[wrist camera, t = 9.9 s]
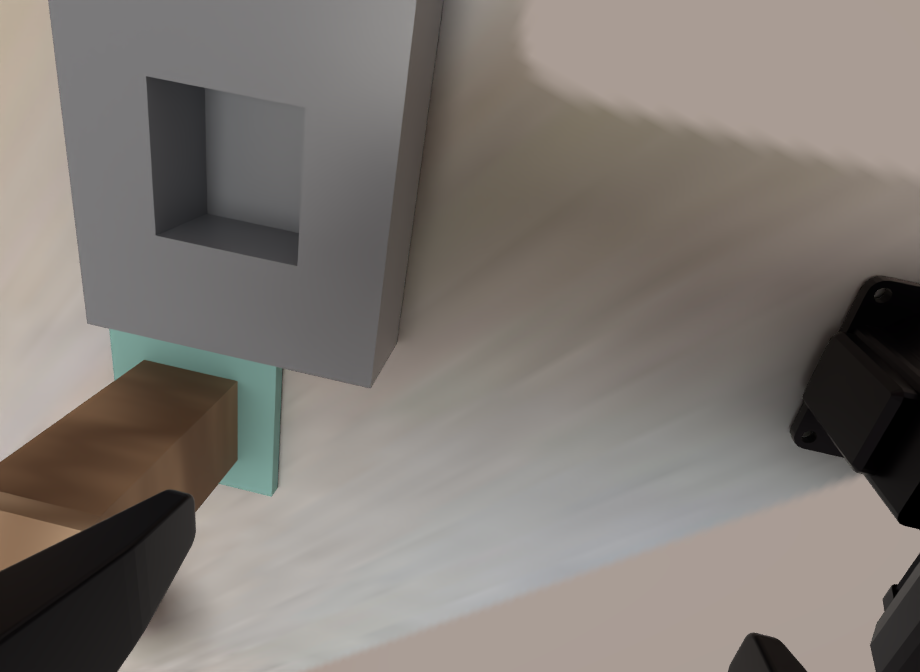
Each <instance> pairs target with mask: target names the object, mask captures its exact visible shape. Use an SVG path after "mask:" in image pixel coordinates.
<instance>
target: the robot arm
mask: <svg viewBox="0 0 920 672" xmlns="http://www.w3.org/2000/svg"><path fill="white" fill-rule="evenodd" d="M881 288H886V292H885V294H884V295H883V296H882V297H880V298H874V295H875V293H876V292H877V290H879V289H881ZM802 398H803V400H804V403H803V405H802V407H801V409H800V411H799V413H798V415H797V417H796V419H795V421H794V423H793V425H792V427H791V430H790V435H791V437H792V439H793V441H794V442H795V444H796V445H797V446H798V447H801V448H803V449H808V450H812V451H817V452H821V453H826V454H830V455H834V456H839V457H843V458H845V459H846V461H847V462H848V463H849V465H850V466H851V468H852V469H853V470H854V471H855V472H857V473H861V474H863V475H864V476H865V477H866V479H867V480H868V481H869V483H870V484H871V485H872V487H873V488H874V489H875V491H876V492H877V494H878V495H879V496H880V498H881V499H882V500H883V502H884V503H885V504H886V506H887V507H888V508H889V510H890V511H891V512H892V514H893V515H894V516H895V518H896V519H897V521H898V522H899V523H900V524H902V525H904V526H908V527H912V528H916V529H919V530H920V284H918V283H914V282H909V281H904V280H899V279H894V278H889V277H882V276H877V277H874V278H871V279H869V280H868V281H867V282H865V283H864V285H863V286H862V287H861V289H860V291H859V293H858V295H857V297H856V299H855V301H854V303H853V305H852V307H851V309H850V311H849V313H848V315H847V317H846V319H845V321H844V323H843V325H842V327H841V329H840V331H839V332H838V333H837V334H835V335H834V336H832V338H831V339H830V341H829V343H828V345H827V347H826V350H825V352H824V354H823V356H822V358H821V360H820V362H819V364H818V366H817V368H816V370H815V372H814V374H813V376H812V378H811V380H810V382H809V384H808V386H807V388H806V390H805V392H804V394H803V396H802ZM807 431H812V433H811V434H810V435H809V436H807V437H802V435H803V434H804V433H805V432H807ZM195 533H196V522H195V501H194V497H193V496H192V495H191V494H189V493H185V492H181V491H177V490H173V489H168V490H164V491H162V492H160V493H158V494H156V495H154V496H152V497H150V498H148V499H146V500H144V501H142V502H140V503H138V504H136V505H134V506H132V507H129V508H127V509H125V510H123V511H121V512H119V513H117V514H115V515H113V516H111V517H109V518H107V519H105V520H103V521H101V522H99V523H97V524H95V525H93V526H91V527H89V528H87V529H85V530H83V531H81V532H79V533H77V534H74V535H72V536H70V537H68V538H66V539H64V540H62V541H60V542H58V543H56V544H54V545H52V546H50V547H48V548H46V549H44V550H42V551H40V552H38V553H36V554H34V555H32V556H30V557H28V558H26V559H24V560H22V561H19V562H17V563H15V564H13V565H11V566H9V567H7V568H5V569H3V570H1V571H0V672H117V671H118V670H119V669H120V667H121V666H122V664H123V663H124V661H125V660H126V658H127V657H128V655H129V654H130V652H131V651H132V650H133V648H134V647H135V645H136V643H137V642H138V640H139V639H140V637H141V636H142V634H143V633H144V631H145V629H146V628H147V626H148V624H149V622H150V621H151V619H152V617H153V615H154V613H155V612H156V610H157V608H158V606H159V604H160V603H161V601H162V599H163V597H164V595H165V593H166V592H167V590H168V588H169V586H170V584H171V582H172V581H173V579H174V577H175V575H176V573H177V572H178V570H179V568H180V566H181V564H182V562H183V561H184V559H185V557H186V555H187V553H188V552H189V550H190V548H191V546H192V544H193V541H194V538H195ZM883 605H884V611H885V612H884V613H883V615H882V616H881V618H880V619H879V621H878V622H877V624H876V628H875V631H874V634H873V638H872V641H871V644H870V646H871V651H872V656H873V661H874V665H875V670H876V672H920V554H919V555H918V556H917V558H916V559H915V561H914V562H913V564H912V565H911V566H910V568H909V569H908V571H907V572H906V574H905V575H904V577H903V578H902V580H901V581H900V582H899V584H898V585H897V584H896V585H895V584H894V585H892V586H891V587H890V589H889V590H888V592H887V593H886V595H885V596H884V598H883ZM728 672H807V671H806V670H805V668H804V667H803V666H802V665H801V664H800V663H799V661H798V660H797V659H796V658H795V657H794V656H793V654H791V652H790V651H789V650H788V649H787V647H786V646H785V645H784V644H783V643H782V642H781V641H780V640H778V639H776V638H774V637H770V636H766V635H761V634H758V633H750V634H748V635H747V636H746V637H745V639H744V641H743V643H742V644H741V646H740V648H739V650H738V651H737V653H736V655H735V657H734V659H733V660H732V662H731V664H730V666H729V670H728Z"/></svg>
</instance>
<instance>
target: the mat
mask: <svg viewBox="0 0 920 672" xmlns="http://www.w3.org/2000/svg"><path fill="white" fill-rule="evenodd" d="M109 331H110V340H111V350H112V360H113V370H114V379H115V380H116V379H118V378H119V377H121V376H122V375H123V374H125V373H126V372H128V371H129V370H130V369H132V368H133V367H135V366H136V365H137V364H139V363H140V362H142V361H143V360H148V361H152V362H156V363H161V364H165V365H170V366H174V367H178V368H183V369H187V370H191V371H196V372H200V373H204V374H209V375H213V376H218V377H222V378H226V379H231V380H235V381H238V460H237V462H236V463H235V464H234V465H233V467H232V468H231V469H230V470H229V471H228V473H227V474H226V475H225V476H224V478H223V479H222V480H221V481H220V483H219V484H222V485H226V486H230V487H234V488H238V489H242V490H247V491H251V492H255V493H259V494H263V495H267V496H271V497H272V495H273V494H274V492H275V491H276V489H277V486H278V462H279V438H280V414H281V390H282V368H279V367H275V366H270V365H266V364H262V363H257V362H253V361H248V360H244V359H240V358H235V357H231V356H227V355H222V354H218V353H214V352H209V351H205V350H200V349H196V348H192V347H187V346H183V345H179V344H174V343H170V342H166V341H161V340H157V339H152V338H148V337H144V336H139V335H135V334H131V333H126V332H122V331H117V330H113V329H109Z"/></svg>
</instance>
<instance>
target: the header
mask: <svg viewBox="0 0 920 672" xmlns="http://www.w3.org/2000/svg"><path fill="white" fill-rule="evenodd" d="M48 2H49V10H50V19H51V27H52V35H53V44H54V52H55V60H56V68H57V77H58V85H59V93H60V102H61V110H62V118H63V126H64V135H65V143H66V151H67V160H68V168H69V176H70V184H71V193H72V201H73V209H74V218H75V226H76V234H77V243H78V251H79V259H80V267H81V276H82V284H83V292H84V301H85V309H86V317H87V324H91V325H96V326H100V327H104V328H109V329H113V330H117V331H122V332H126V333H131V334H135V335H139V336H144V337H148V338H152V339H157V340H161V341H166V342H170V343H174V344H179V345H183V346H187V347H192V348H196V349H200V350H205V351H209V352H214V353H218V354H222V355H227V356H231V357H235V358H240V359H244V360H248V361H253V362H257V363H262V364H266V365H270V366H275V367H279V368H283V369H288V370H292V371H296V372H301V373H305V374H310V375H314V376H318V377H323V378H327V379H331V380H336V381H340V382H344V383H349V384H353V385H358V386H362V387H366V388H371V387H372V385H373V383H374V382H375V380H376V378H377V376H378V375H379V373H380V371H381V370H382V368H383V366H384V364H385V363H386V361H387V359H388V358H389V356H390V354H391V352H392V351H393V349H394V347H395V346H396V344H397V338H398V331H399V323H400V316H401V309H402V301H403V294H404V287H405V279H406V272H407V265H408V257H409V250H410V243H411V235H412V228H413V221H414V213H415V206H416V199H417V191H418V184H419V176H420V169H421V162H422V154H423V147H424V140H425V132H426V125H427V118H428V110H429V103H430V96H431V88H432V81H433V74H434V66H435V59H436V52H437V44H438V37H439V30H440V22H441V15H442V8H443V0H48Z"/></svg>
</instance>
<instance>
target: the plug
mask: <svg viewBox="0 0 920 672" xmlns="http://www.w3.org/2000/svg"><path fill="white" fill-rule="evenodd" d="M237 460H238V381H235V380H231V379H226V378H222V377H218V376H213V375H209V374H204V373H200V372H196V371H191V370H187V369H183V368H178V367H174V366H170V365H165V364H161V363H156V362H152V361H148V360H143V361H142V362H140V363H139V364H137V365H136V366H135V367H133V368H132V369H130V370H129V371H128V372H126V373H125V374H123V375H122V376H121V377H119V378H118V379H116V380H115V381H114V382H112V383H111V384H109V385H108V386H106V387H105V388H104V389H102V390H101V391H99V392H98V393H97V394H95V395H94V396H92V397H91V398H90V399H88V400H87V401H85V402H84V403H83V404H81V405H80V406H78V407H77V408H76V409H74V410H73V411H71V412H70V413H69V414H67V415H66V416H64V417H63V418H62V419H60V420H59V421H57V422H56V423H55V424H53V425H52V426H50V427H49V428H48V429H46V430H45V431H43V432H42V433H41V434H39V435H38V436H36V437H35V438H33V439H32V440H31V441H29V442H28V443H26V444H25V445H24V446H22V447H21V448H19V449H18V450H17V451H15V452H14V453H12V454H11V455H10V456H8V457H7V458H5V459H4V460H3V461H1V462H0V571H1V570H3V569H5V568H7V567H9V566H11V565H13V564H15V563H17V562H19V561H22V560H24V559H26V558H28V557H30V556H32V555H34V554H36V553H38V552H40V551H42V550H44V549H46V548H48V547H50V546H52V545H54V544H56V543H58V542H60V541H62V540H64V539H66V538H68V537H70V536H72V535H74V534H77V533H79V532H81V531H83V530H85V529H87V528H89V527H91V526H93V525H95V524H97V523H99V522H101V521H103V520H105V519H107V518H109V517H111V516H113V515H115V514H117V513H119V512H121V511H123V510H125V509H127V508H129V507H132V506H134V505H136V504H138V503H140V502H142V501H144V500H146V499H148V498H150V497H152V496H154V495H156V494H158V493H160V492H162V491H164V490H168V489H173V490H177V491H181V492H185V493H189V494H191V495H192V496H193V497H194V501H195V512H196V511H197V510H198V508H199V507H200V506H201V505H202V503H203V502H204V501H205V500H206V499H207V497H208V496H209V495H210V494H211V492H212V491H213V490H214V489H215V487H216V486H217V485H218V484H219V483H220V481H221V480H222V479H223V478H224V476H225V475H226V474H227V473H228V471H229V470H230V469H231V468H232V467H233V465H234V464H235V463H236V462H237Z"/></svg>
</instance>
